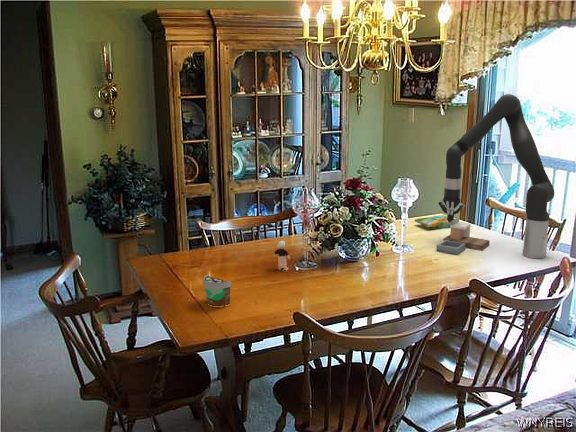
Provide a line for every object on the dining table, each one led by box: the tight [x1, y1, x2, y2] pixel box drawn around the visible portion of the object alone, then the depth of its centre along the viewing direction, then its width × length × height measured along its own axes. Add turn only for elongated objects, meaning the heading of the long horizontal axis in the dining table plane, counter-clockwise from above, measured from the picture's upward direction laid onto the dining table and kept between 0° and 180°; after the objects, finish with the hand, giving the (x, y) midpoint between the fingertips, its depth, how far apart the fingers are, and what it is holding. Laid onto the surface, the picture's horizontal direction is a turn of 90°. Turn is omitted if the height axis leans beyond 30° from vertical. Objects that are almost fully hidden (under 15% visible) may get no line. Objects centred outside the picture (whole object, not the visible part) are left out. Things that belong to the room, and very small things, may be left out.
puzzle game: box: [414, 214, 451, 230], centre depth 299 cm, size 12×5×20 cm
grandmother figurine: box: [272, 240, 291, 271], centre depth 237 cm, size 8×4×13 cm, turn 74°
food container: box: [202, 273, 232, 306], centre depth 202 cm, size 12×6×10 cm, turn 52°
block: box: [449, 227, 463, 240], centre depth 270 cm, size 4×4×8 cm
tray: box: [435, 240, 466, 256], centre depth 260 cm, size 10×10×3 cm
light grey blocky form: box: [449, 217, 471, 238], centre depth 269 cm, size 7×8×9 cm
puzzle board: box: [442, 234, 491, 252], centre depth 268 cm, size 19×10×2 cm, turn 53°
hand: (450, 221), depth 271 cm, fingers closed
